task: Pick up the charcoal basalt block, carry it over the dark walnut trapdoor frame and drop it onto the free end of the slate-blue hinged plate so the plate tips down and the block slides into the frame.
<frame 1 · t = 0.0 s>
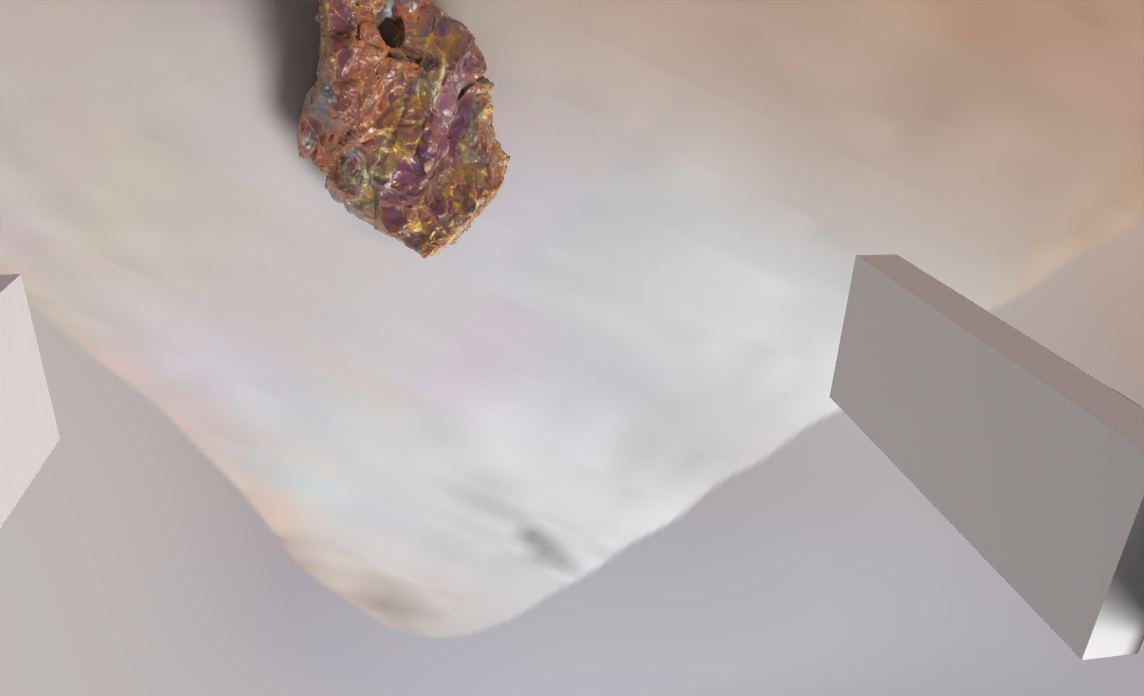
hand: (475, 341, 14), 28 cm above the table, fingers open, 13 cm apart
mineral specimen: (393, 102, 39), on the table
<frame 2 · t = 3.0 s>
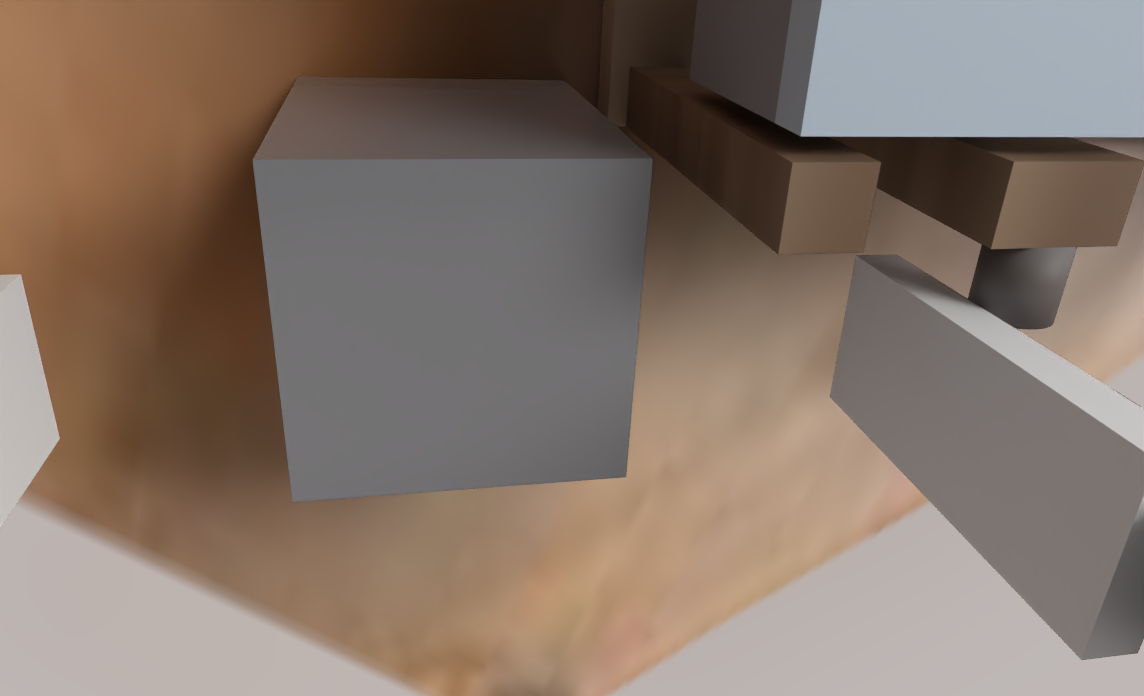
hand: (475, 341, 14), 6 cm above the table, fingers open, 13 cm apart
block: (438, 205, 19), on the table
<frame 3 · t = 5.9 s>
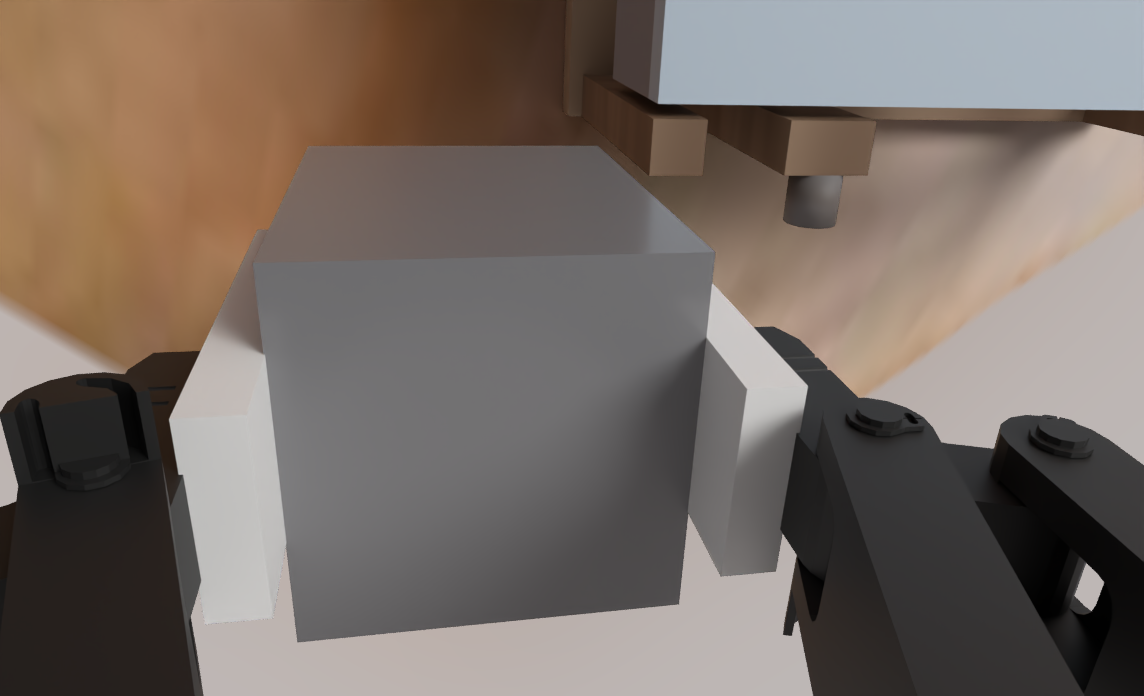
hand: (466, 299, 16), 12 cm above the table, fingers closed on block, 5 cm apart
block: (460, 281, 18), point 10 cm above the table, touching gripper
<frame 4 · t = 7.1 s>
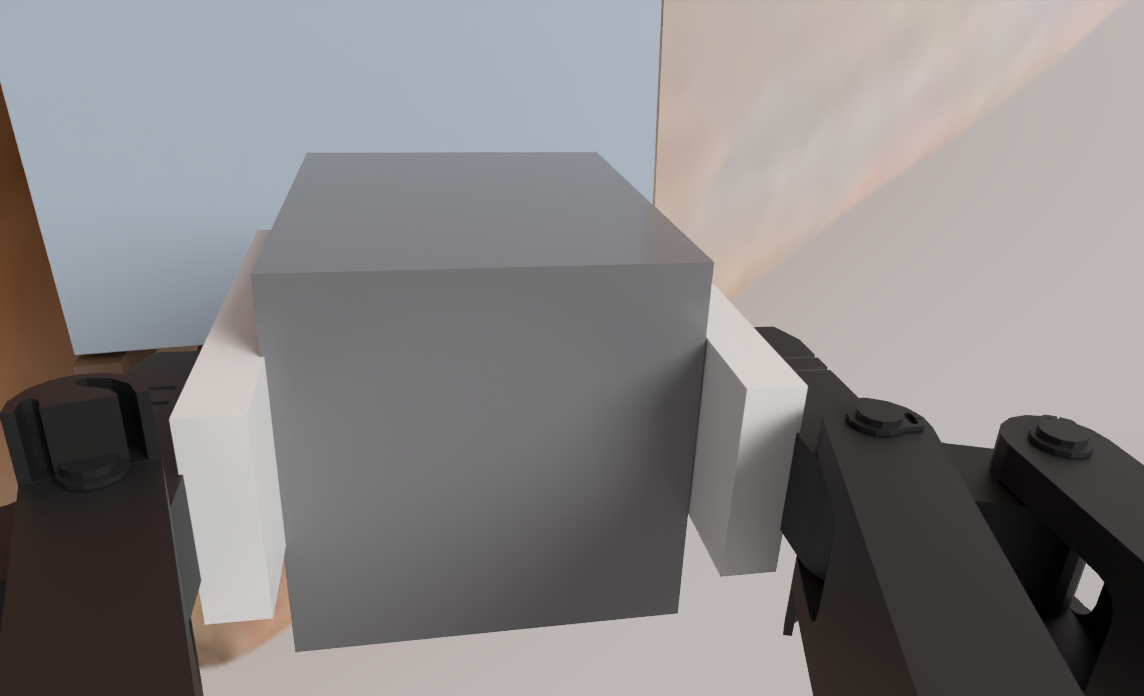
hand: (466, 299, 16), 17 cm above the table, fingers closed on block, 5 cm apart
trapdoor: (355, 83, 24), point 7 cm above the table, hinge at 0.0°
frame: (389, 52, 30), on the table
block: (458, 288, 18), point 16 cm above the table, touching gripper
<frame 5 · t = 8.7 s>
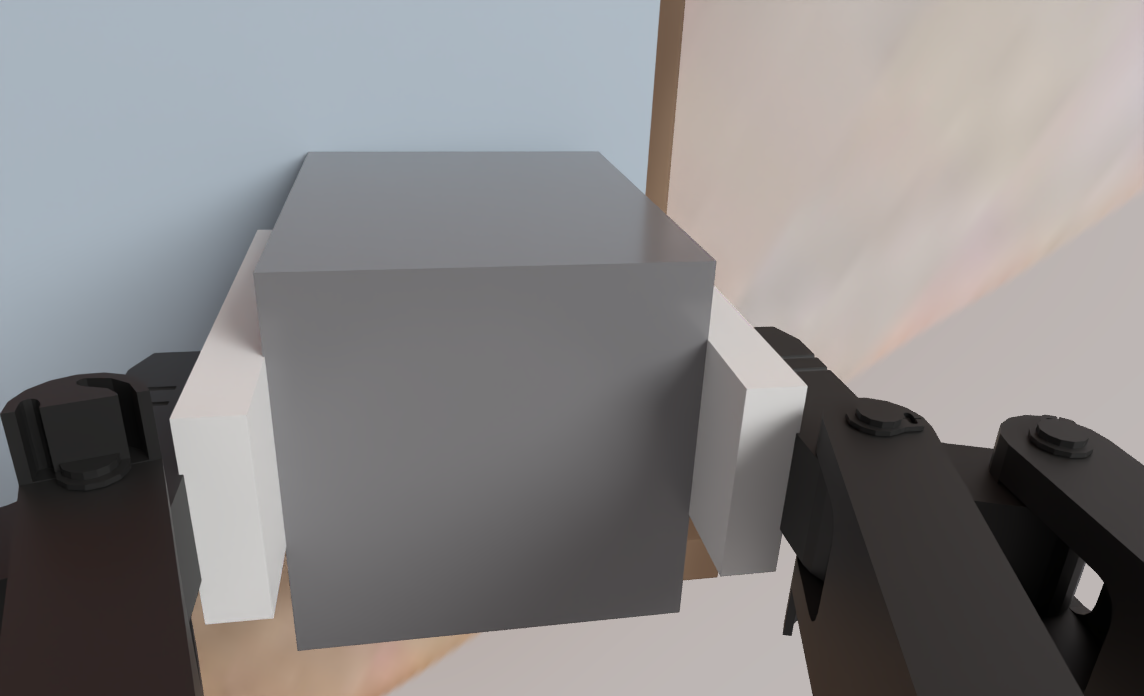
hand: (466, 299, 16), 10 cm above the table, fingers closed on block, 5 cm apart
trapdoor: (255, 237, 19), point 6 cm above the table, hinge at -6.9°, touching block
frame: (334, 169, 24), on the table
block: (460, 287, 18), point 8 cm above the table, touching gripper, trapdoor
when the fingers open (10 cm above the table, at t = 8.8 s): block drops 4 cm and tips over, resting on trapdoor.
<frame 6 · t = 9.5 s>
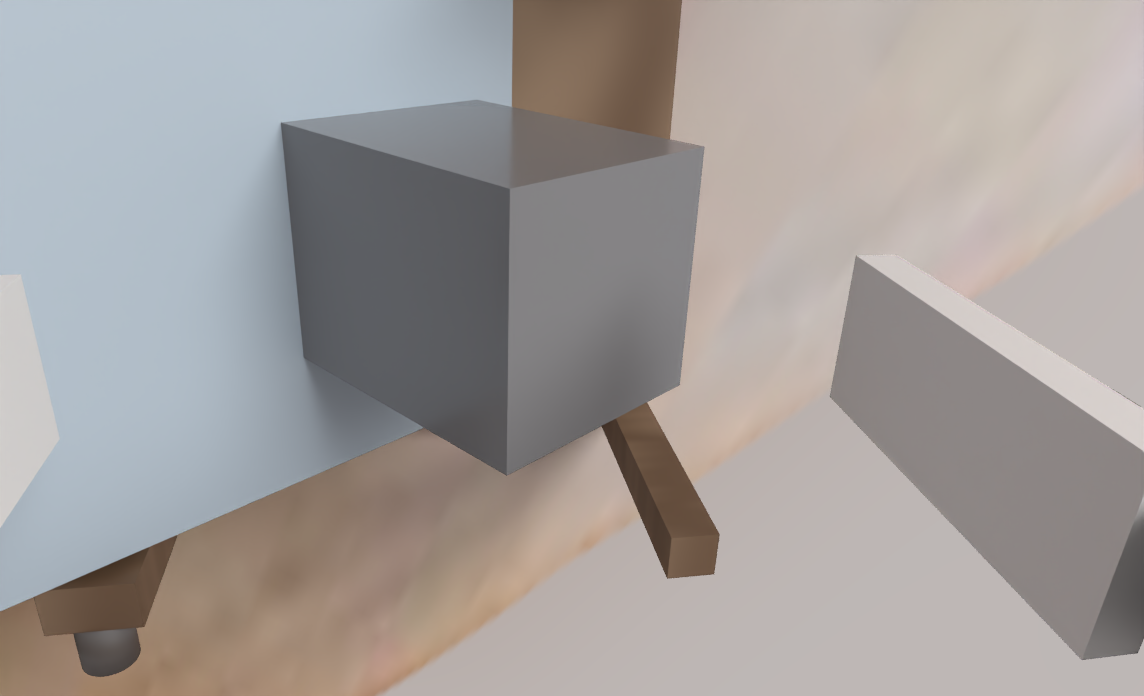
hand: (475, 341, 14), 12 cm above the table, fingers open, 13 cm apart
trapdoor: (188, 215, 20), point 5 cm above the table, hinge at -36.7°, touching block
frame: (331, 167, 24), on the table
block: (393, 224, 21), point 4 cm above the table, tilted 37°, touching trapdoor
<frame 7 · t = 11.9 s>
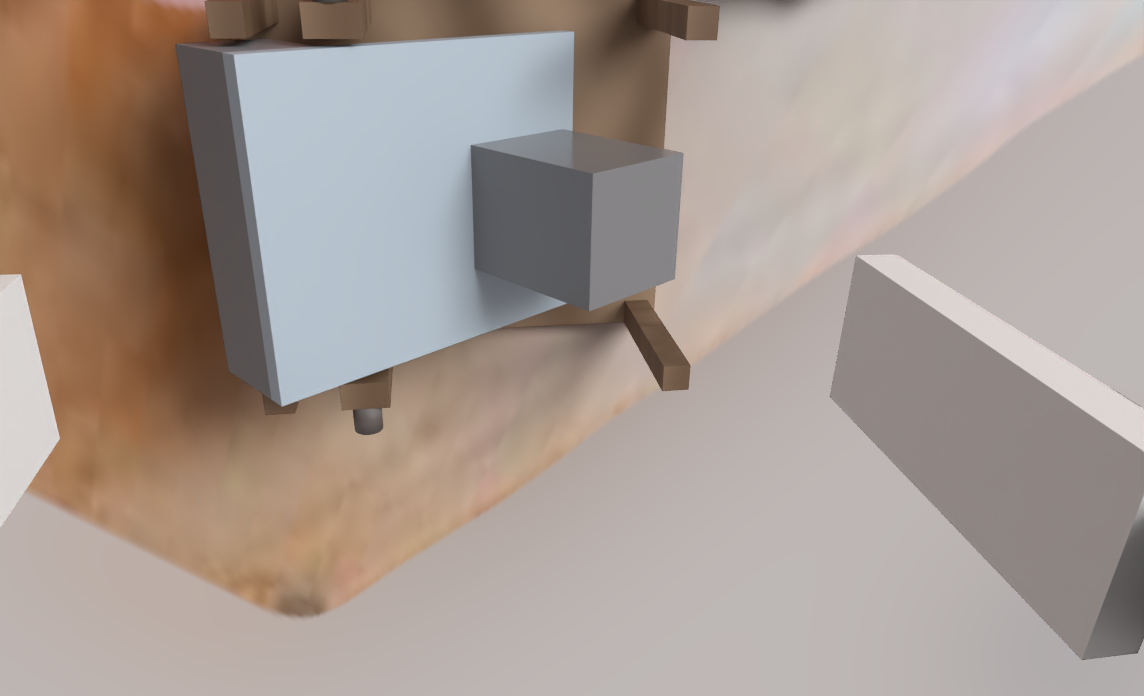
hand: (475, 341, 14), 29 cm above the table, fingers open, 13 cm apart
trapdoor: (406, 195, 38), point 5 cm above the table, hinge at -36.7°, touching block
frame: (467, 170, 42), on the table
block: (519, 197, 40), point 4 cm above the table, tilted 37°, touching trapdoor
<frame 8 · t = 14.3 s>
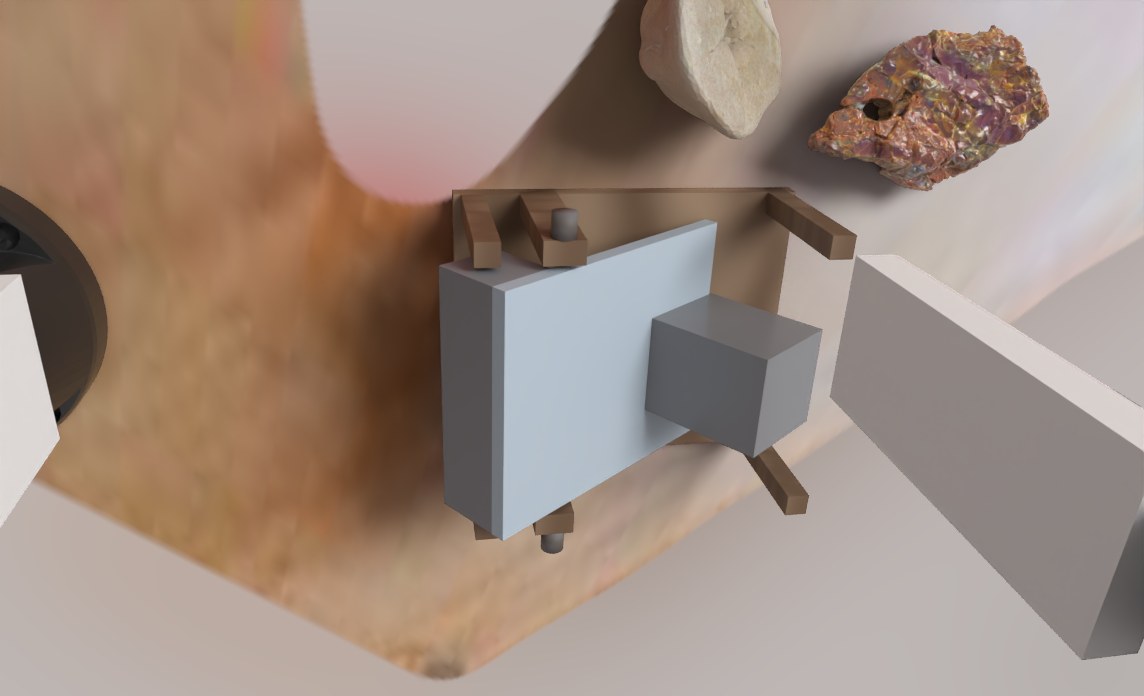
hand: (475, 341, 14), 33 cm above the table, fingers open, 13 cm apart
trapdoor: (585, 358, 46), point 5 cm above the table, hinge at -36.8°, touching block
frame: (617, 322, 51), on the table
block: (678, 350, 49), point 3 cm above the table, tilted 37°, touching trapdoor
stone: (704, 23, 45), on the table
mineral specimen: (900, 107, 49), on the table
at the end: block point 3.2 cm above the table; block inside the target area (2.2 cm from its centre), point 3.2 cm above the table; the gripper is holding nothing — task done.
